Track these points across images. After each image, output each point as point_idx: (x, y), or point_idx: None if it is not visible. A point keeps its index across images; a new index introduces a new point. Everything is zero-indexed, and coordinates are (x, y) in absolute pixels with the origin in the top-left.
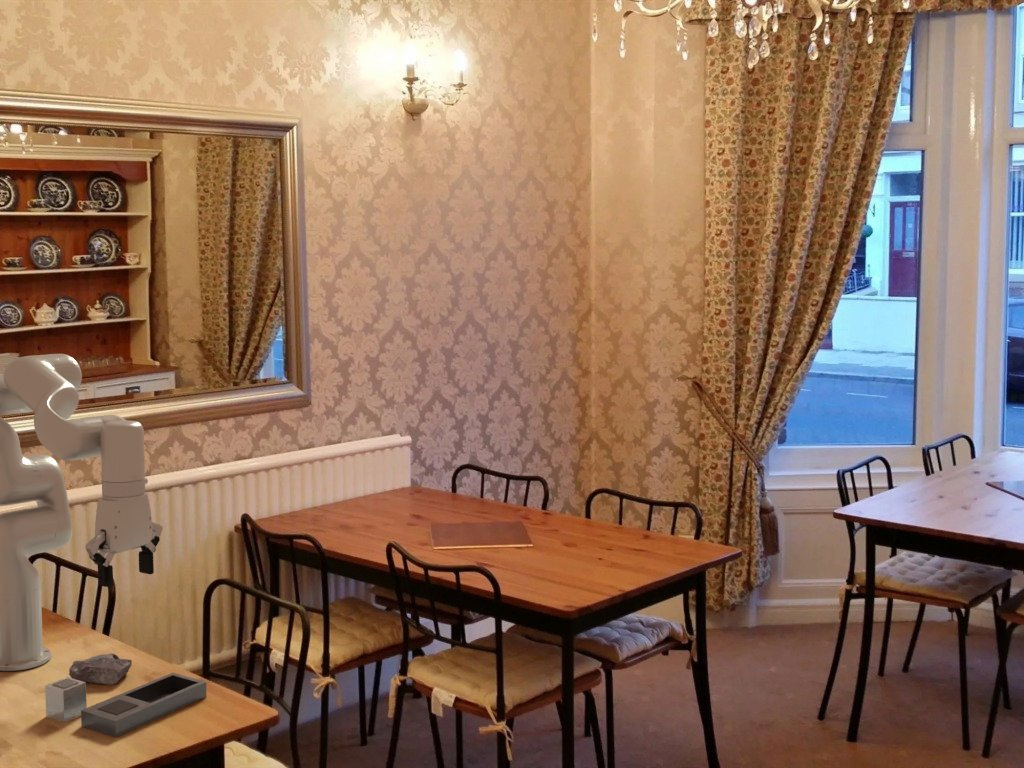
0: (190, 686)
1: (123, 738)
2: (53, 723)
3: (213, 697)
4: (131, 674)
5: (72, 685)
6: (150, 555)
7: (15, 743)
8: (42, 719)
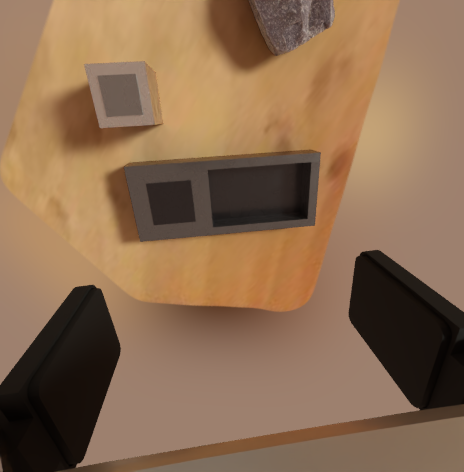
0: (289, 221)
1: None
2: None
3: None
4: None
5: (128, 115)
6: (417, 406)
7: (21, 134)
8: None
